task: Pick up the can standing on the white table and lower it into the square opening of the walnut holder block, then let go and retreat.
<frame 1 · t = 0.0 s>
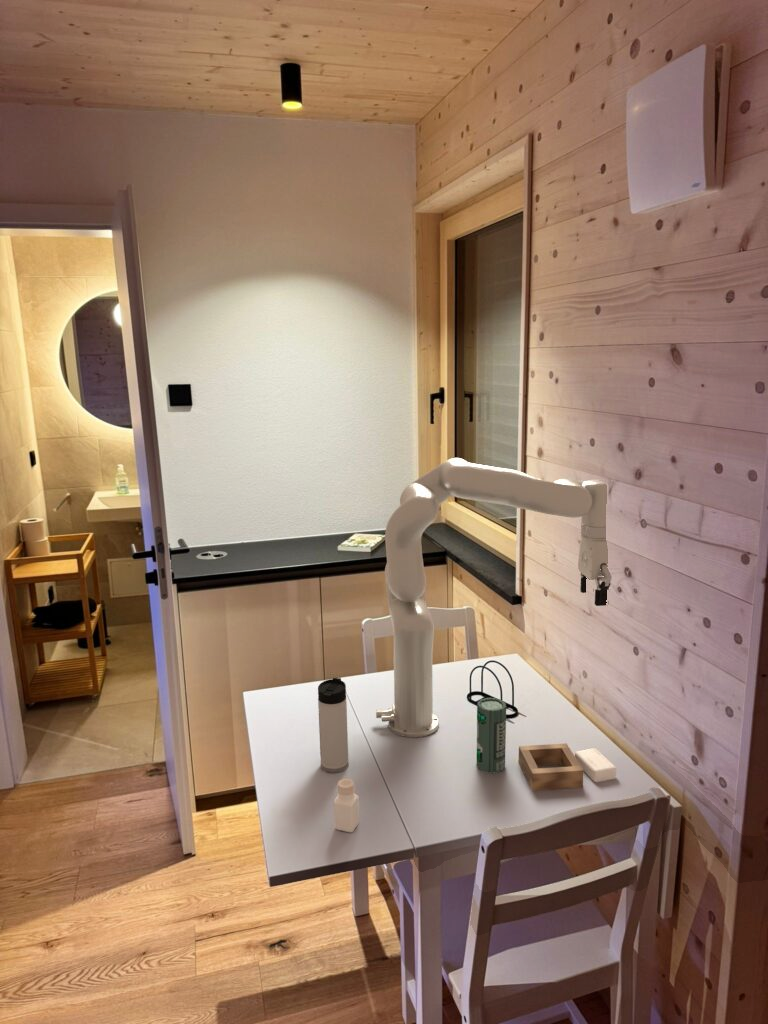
hand: (593, 598, 179), 31 cm above the table, fingers open, 9 cm apart
travel mug: (335, 766, 165), on the table
socket: (549, 774, 160), on the table
pepper shaker: (347, 826, 144), on the table
can: (490, 766, 164), on the table
soap: (594, 771, 162), on the table
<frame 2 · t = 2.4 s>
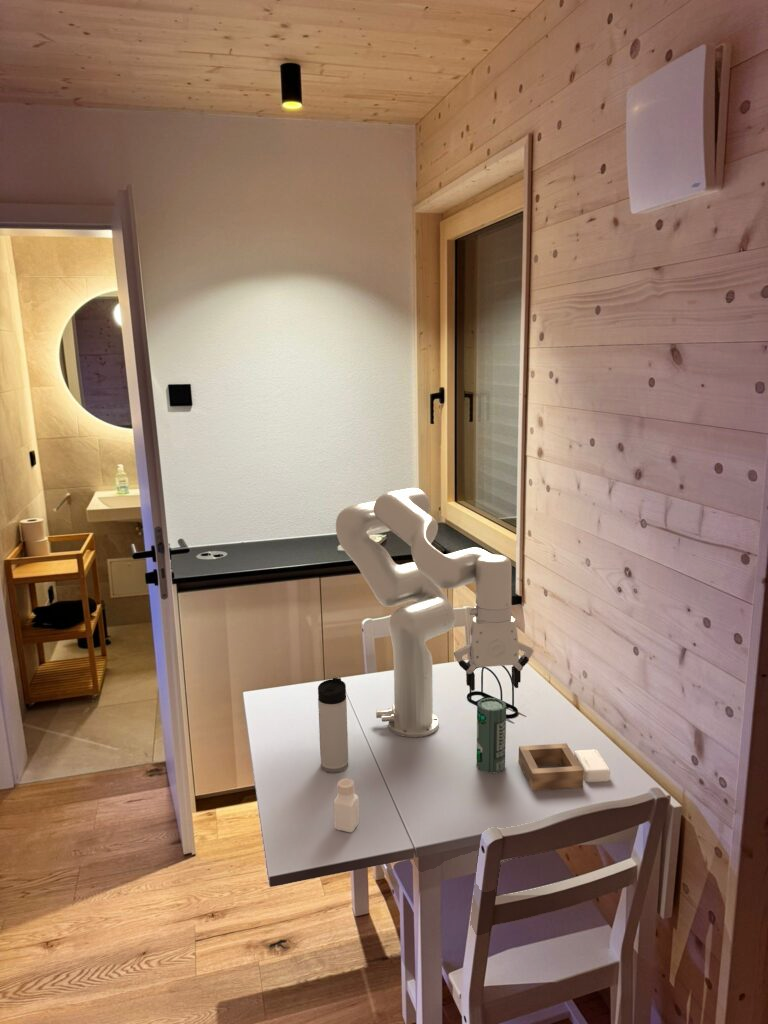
hand: (493, 686, 160), 19 cm above the table, fingers open, 9 cm apart
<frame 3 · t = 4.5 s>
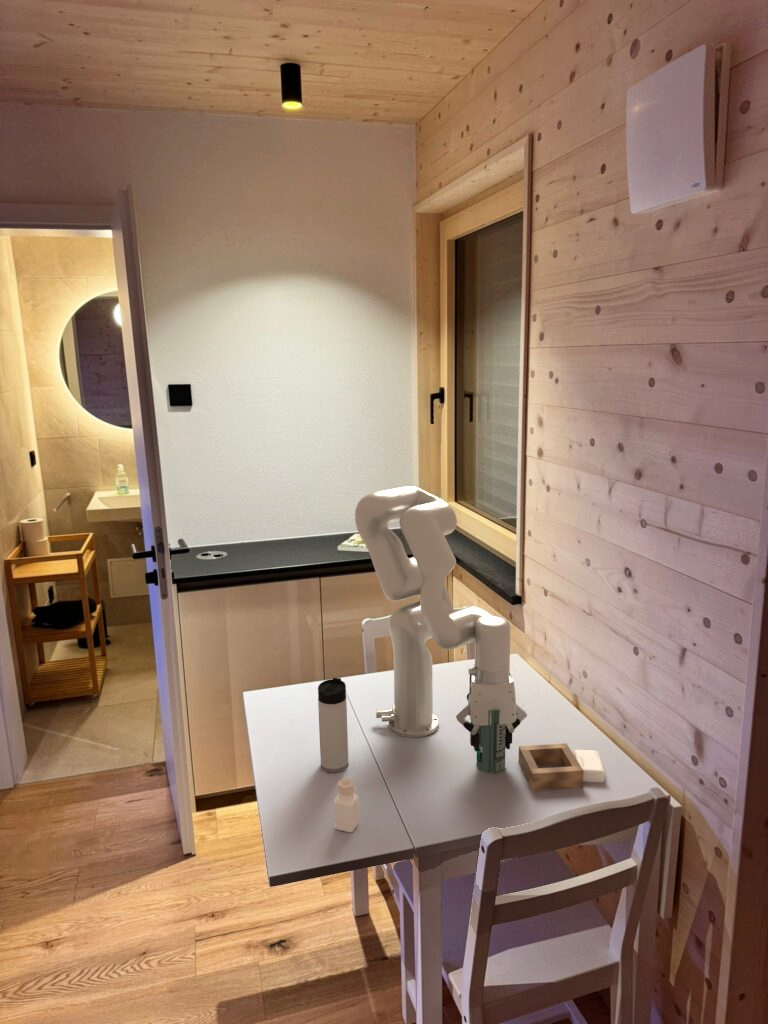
hand: (491, 746, 163), 5 cm above the table, fingers closed on can, 6 cm apart
can: (490, 766, 164), on the table, touching gripper
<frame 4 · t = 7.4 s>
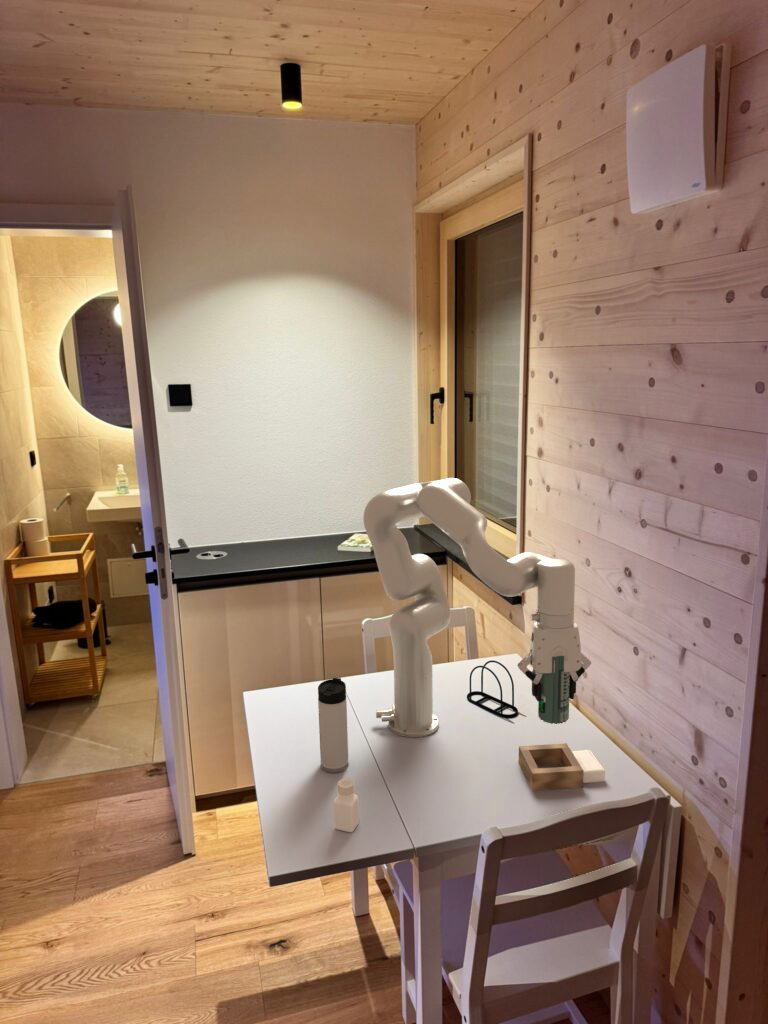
hand: (553, 696, 156), 19 cm above the table, fingers closed on can, 6 cm apart
can: (553, 717, 157), point 14 cm above the table, touching gripper
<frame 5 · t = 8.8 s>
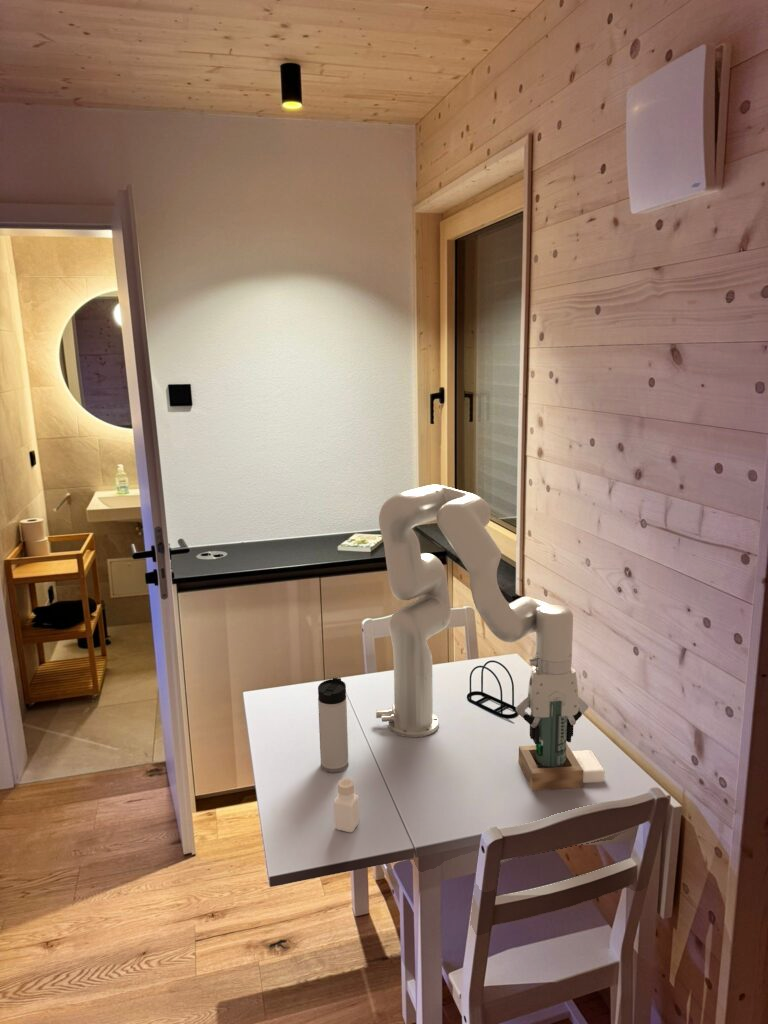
hand: (551, 739, 158), 8 cm above the table, fingers closed on can, 6 cm apart
can: (550, 759, 159), point 4 cm above the table, touching gripper
when the fingers open (6 cm above the table, at t = 10.2 s): can drops 1 cm, resting in socket.
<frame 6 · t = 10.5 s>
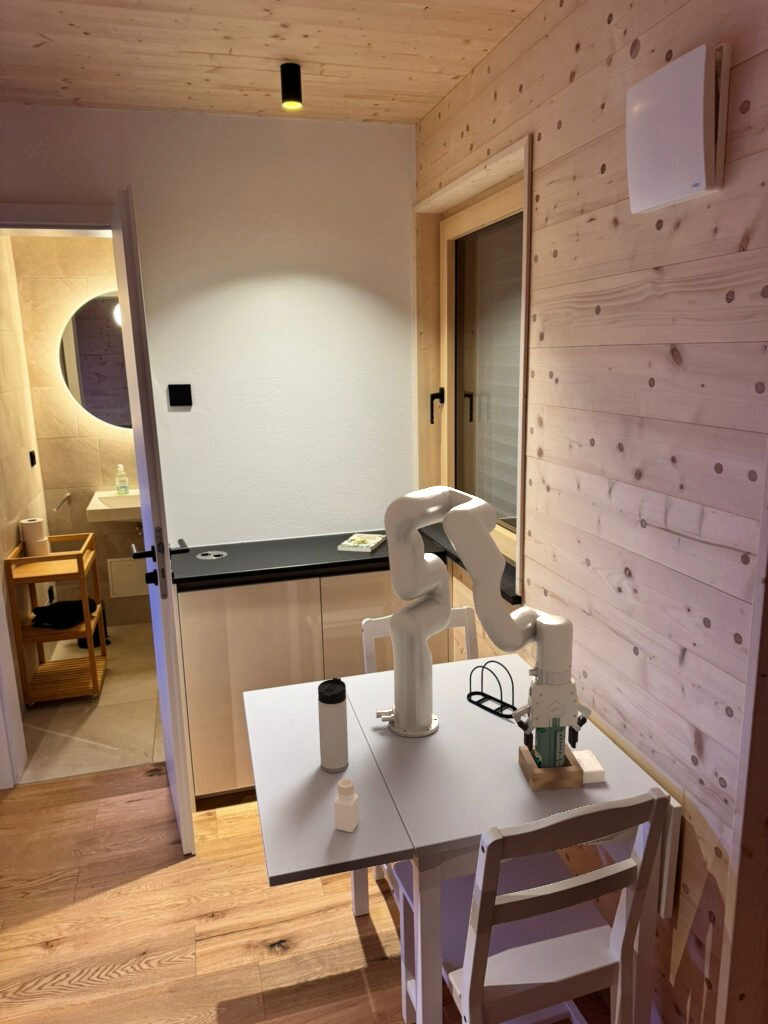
hand: (550, 746, 159), 7 cm above the table, fingers open, 9 cm apart
can: (548, 775, 160), resting in socket
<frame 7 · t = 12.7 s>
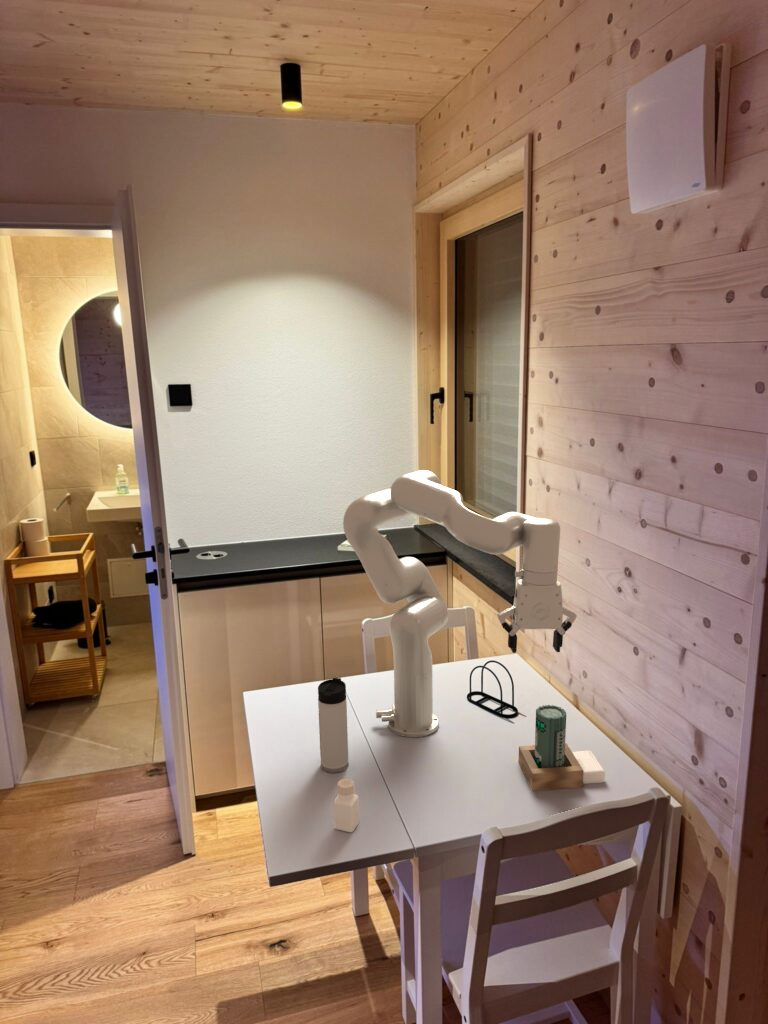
hand: (534, 650, 160), 27 cm above the table, fingers open, 9 cm apart
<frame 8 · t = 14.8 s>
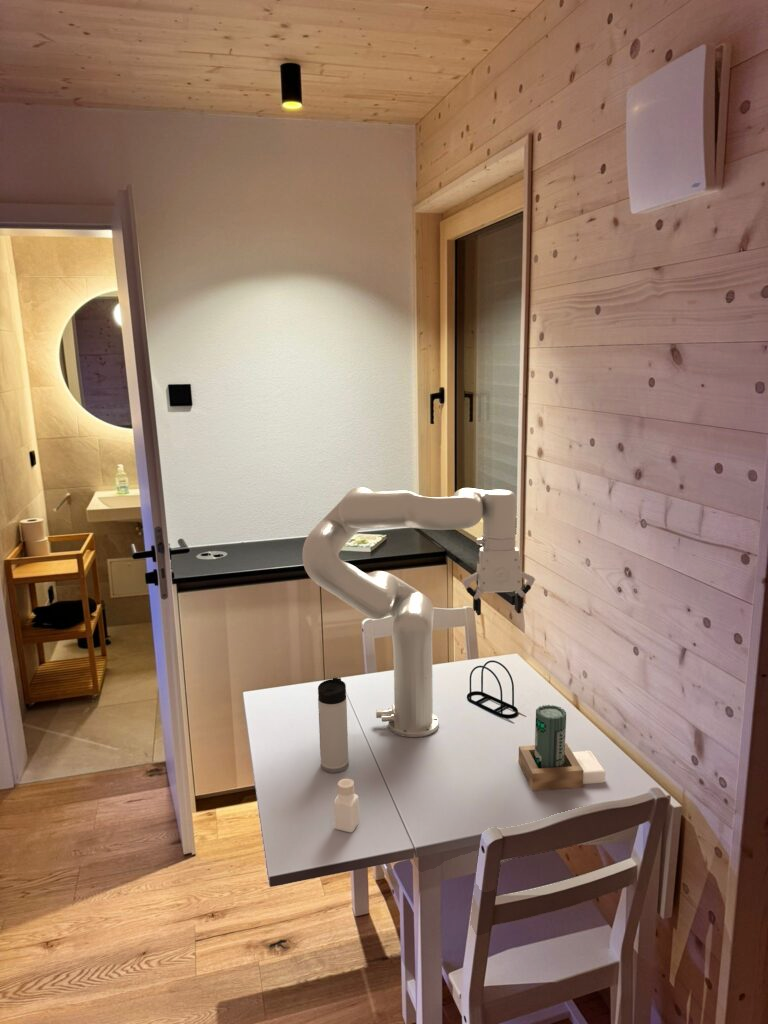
hand: (497, 612, 173), 30 cm above the table, fingers open, 9 cm apart
at the end: can 0.1 cm off-centre on the socket, point 0.0 cm above the socket's base; can tilted 0°; the gripper is holding nothing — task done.
